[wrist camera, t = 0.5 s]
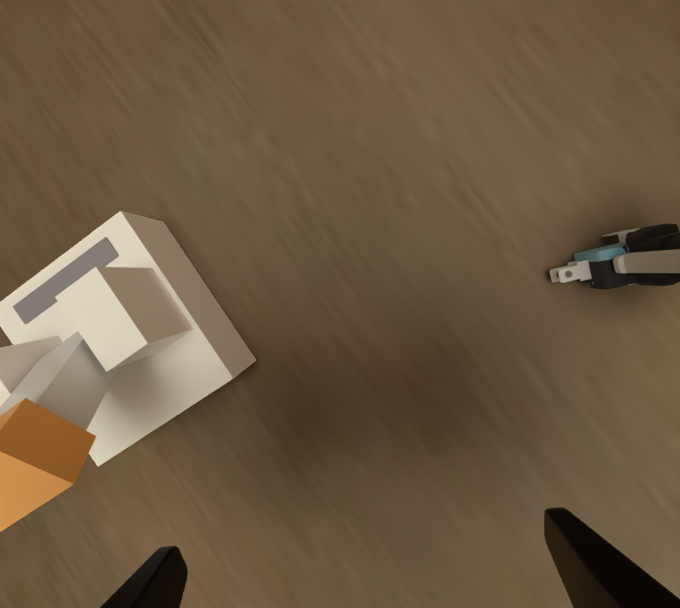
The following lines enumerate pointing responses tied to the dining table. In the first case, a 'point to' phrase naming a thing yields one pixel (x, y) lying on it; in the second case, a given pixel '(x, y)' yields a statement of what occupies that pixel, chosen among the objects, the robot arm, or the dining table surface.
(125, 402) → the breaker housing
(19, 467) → the lever
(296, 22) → the dining table surface
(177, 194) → the dining table surface
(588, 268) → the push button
